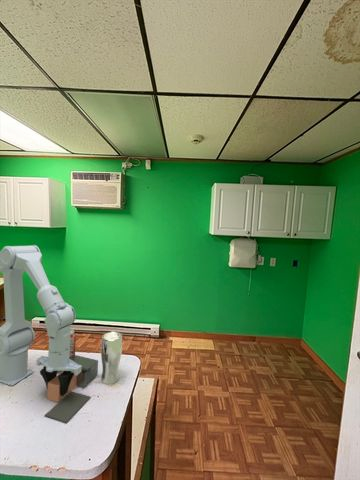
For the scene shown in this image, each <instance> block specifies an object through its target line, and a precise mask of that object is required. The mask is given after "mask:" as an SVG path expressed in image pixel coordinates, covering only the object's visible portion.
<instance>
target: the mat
mask: <svg viewBox="0 0 360 480" xmlns="http://www.w3.org/2000/svg"><path fill="white" fill-rule="evenodd" d="M91 398H92V397H91V395H90V396H89V395H87V394H86V395H85V394H82V393H79V392H75V391H73V390H71V391H70V392H69V393H68V394H67V395H66V396H65V397H64V398H63V399H62V400H60V401H59V402H57V403H56V404H55V405H54V406H53V407H52V408H51V409H49V411H47V412H46V414H44V417H46V418H49V419H51V420H55V421H58V422H61V423H64V424H68V423H69V422H70V420H71V419H72V418H74V416H75V415H76V414H77V413H78V412H79V411H80V410H81V409H82V408H83V407H84V406H85V404H87V402H88V401H89V400H90V399H91Z"/></svg>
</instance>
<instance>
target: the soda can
mask: <svg viewBox="0 0 360 480" xmlns="http://www.w3.org/2000/svg"><path fill="white" fill-rule="evenodd" d="M76 337H77V335H76V333H75V330H74V329H72V328H71V334H70V357H71V356H73V355H76ZM70 357H69V358H70ZM57 373H59V371H57Z"/></svg>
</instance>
